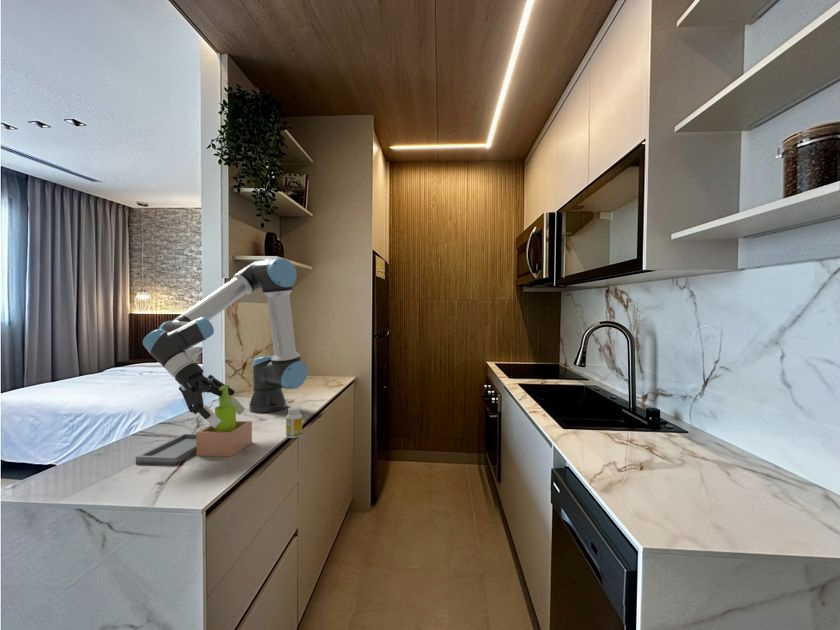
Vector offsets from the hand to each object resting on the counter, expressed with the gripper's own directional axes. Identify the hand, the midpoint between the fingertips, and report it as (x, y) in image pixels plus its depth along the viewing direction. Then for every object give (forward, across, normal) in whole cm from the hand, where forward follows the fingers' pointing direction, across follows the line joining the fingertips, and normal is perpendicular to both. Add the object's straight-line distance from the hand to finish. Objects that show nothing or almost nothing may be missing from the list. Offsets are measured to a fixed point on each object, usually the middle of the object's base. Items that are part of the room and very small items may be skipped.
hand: (230, 418), depth 121 cm
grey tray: (-4, +3, -18) cm, 18 cm away
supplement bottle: (+18, -13, +4) cm, 22 cm away
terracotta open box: (+6, 0, -8) cm, 10 cm away
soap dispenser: (+6, 0, -8) cm, 10 cm away
